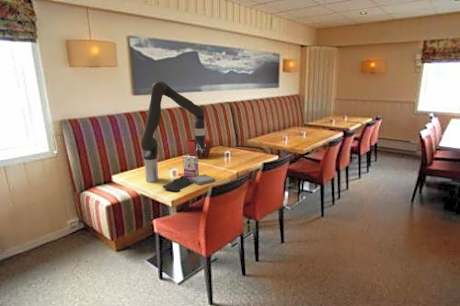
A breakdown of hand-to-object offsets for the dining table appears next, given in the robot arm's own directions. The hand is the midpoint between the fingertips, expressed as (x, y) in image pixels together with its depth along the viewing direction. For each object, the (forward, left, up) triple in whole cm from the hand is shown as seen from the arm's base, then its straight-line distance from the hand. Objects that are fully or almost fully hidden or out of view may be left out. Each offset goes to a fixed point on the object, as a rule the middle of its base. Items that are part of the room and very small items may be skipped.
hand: (201, 156), depth 216 cm
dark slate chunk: (-2, -19, -19) cm, 27 cm away
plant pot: (-65, +36, -19) cm, 77 cm away
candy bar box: (-14, -1, -19) cm, 24 cm away
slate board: (0, 0, -19) cm, 19 cm away
